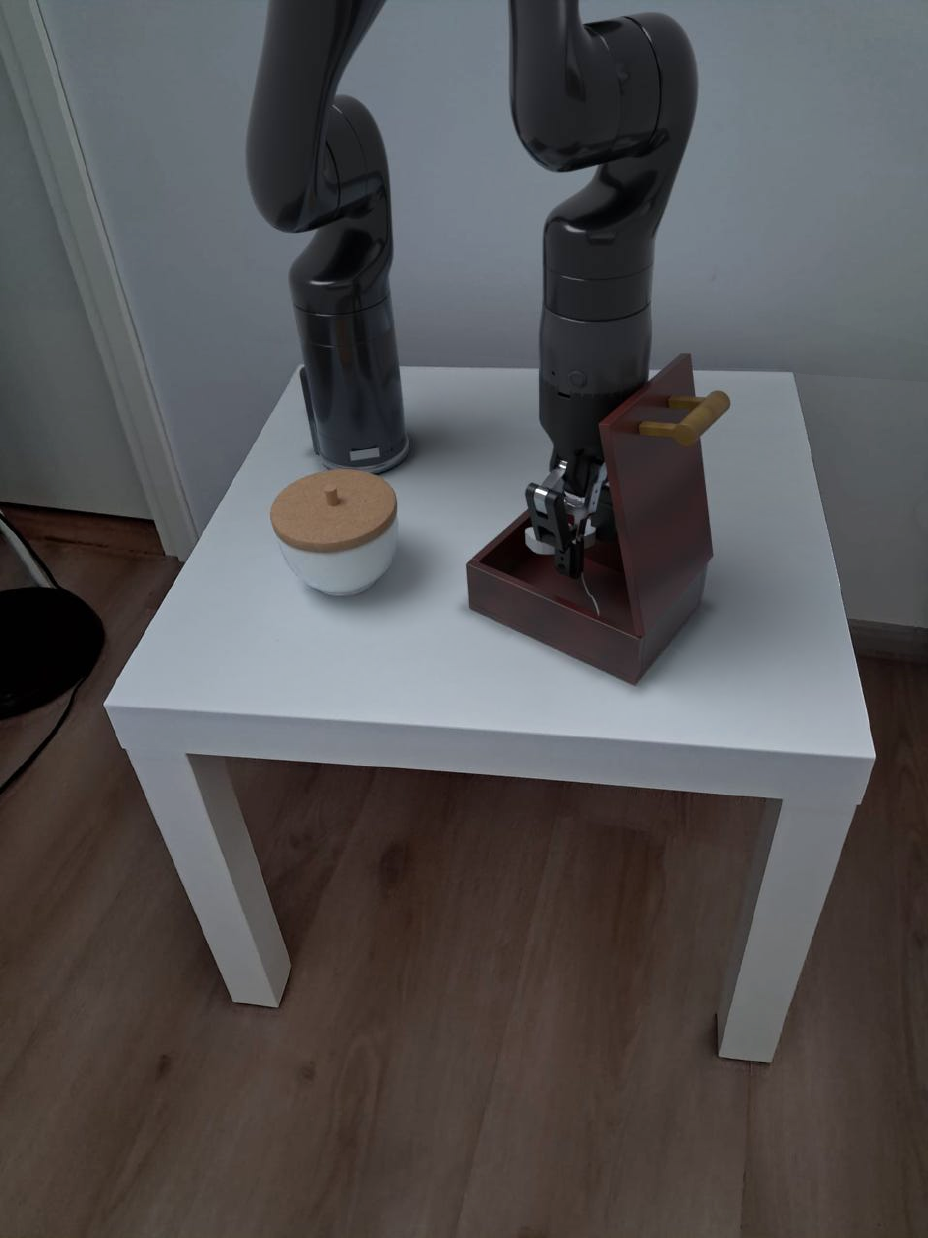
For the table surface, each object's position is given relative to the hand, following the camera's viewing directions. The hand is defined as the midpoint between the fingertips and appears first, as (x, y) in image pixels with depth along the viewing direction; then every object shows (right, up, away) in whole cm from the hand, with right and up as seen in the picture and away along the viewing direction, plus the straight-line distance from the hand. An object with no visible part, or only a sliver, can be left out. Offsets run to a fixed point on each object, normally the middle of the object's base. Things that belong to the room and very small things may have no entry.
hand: (586, 555), depth 75 cm
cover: (+4, +4, -8) cm, 10 cm away
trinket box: (-20, -1, +9) cm, 22 cm away
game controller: (-1, -1, 0) cm, 2 cm away
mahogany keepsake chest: (0, -4, +4) cm, 6 cm away
